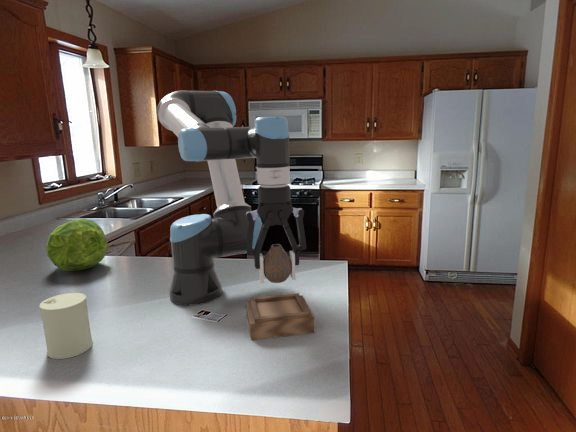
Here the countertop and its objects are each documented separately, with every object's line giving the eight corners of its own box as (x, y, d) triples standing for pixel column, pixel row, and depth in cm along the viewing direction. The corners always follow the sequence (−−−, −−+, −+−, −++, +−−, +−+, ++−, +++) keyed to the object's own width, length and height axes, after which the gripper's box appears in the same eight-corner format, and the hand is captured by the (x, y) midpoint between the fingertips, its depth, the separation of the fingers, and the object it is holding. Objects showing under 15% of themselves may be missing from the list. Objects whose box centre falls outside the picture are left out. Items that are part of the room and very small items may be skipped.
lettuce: (91, 257, 161) (76, 214, 156) (122, 259, 146) (106, 212, 142) (41, 278, 146) (23, 232, 142) (71, 283, 132) (51, 231, 127)
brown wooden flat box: (251, 339, 92) (250, 320, 91) (246, 315, 105) (245, 297, 104) (314, 332, 95) (314, 313, 94) (302, 309, 107) (302, 292, 106)
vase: (295, 276, 99) (294, 242, 98) (286, 286, 93) (285, 250, 91) (269, 274, 102) (268, 240, 100) (258, 283, 95) (257, 248, 93)
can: (59, 339, 95) (51, 291, 93) (99, 336, 96) (92, 289, 93) (38, 360, 86) (29, 308, 84) (83, 357, 87) (75, 306, 84)
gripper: (231, 189, 87) (237, 289, 92) (319, 184, 91) (321, 281, 95) (230, 185, 94) (235, 277, 99) (311, 181, 98) (313, 270, 102)
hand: (277, 279), depth 97 cm, fingers closed on vase, 7 cm apart
